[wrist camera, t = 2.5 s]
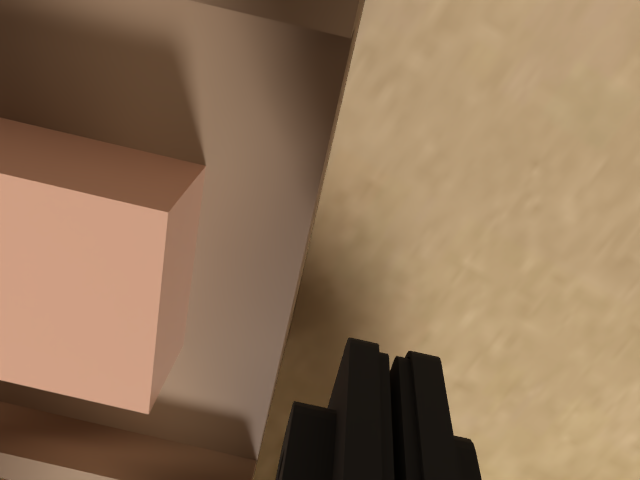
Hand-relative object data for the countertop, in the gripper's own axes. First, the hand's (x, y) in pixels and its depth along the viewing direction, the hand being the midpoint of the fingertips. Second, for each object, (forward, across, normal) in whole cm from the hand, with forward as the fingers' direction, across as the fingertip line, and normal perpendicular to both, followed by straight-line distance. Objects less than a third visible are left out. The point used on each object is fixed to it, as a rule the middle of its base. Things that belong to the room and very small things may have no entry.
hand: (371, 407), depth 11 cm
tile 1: (+4, +7, 0) cm, 8 cm away
